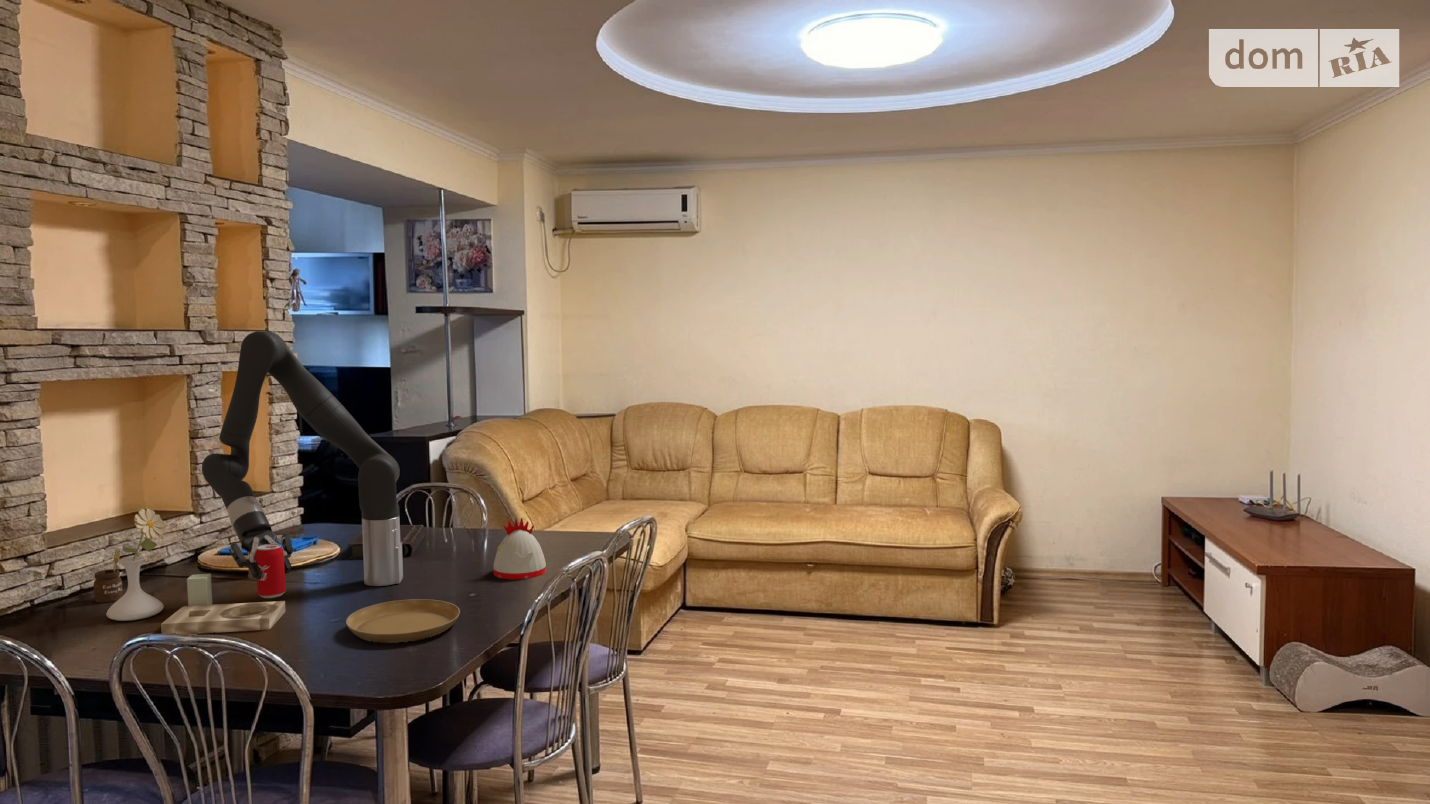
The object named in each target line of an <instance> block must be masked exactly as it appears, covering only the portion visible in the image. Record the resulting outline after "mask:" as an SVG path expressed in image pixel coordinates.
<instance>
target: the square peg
mask: <svg viewBox="0 0 1430 804" xmlns="http://www.w3.org/2000/svg"><path fill="white" fill-rule="evenodd" d="M186 588H187V603H188V604H187V606H197V605H213V592H212V590H213V589H212V575H211V573H201V574H200V573H199V574H198V573H196V574H192V575H190V576H189V577H188V578H186Z"/></svg>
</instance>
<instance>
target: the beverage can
mask: <svg viewBox="0 0 1430 804" xmlns="http://www.w3.org/2000/svg"><path fill="white" fill-rule="evenodd" d="M255 560H256V562H257V564H258V566H259V568H260V571H261V573H262V577H261V579H259V580H256V585H257V587H256V588H257V589H256V590H257V596H259V597H261V598H263V599H273V598H278V597H281V596H283V594H285V593H286V592H287V582H286V574H285V564H284V551H283V547H282V544H280V543H277V544H266V545H261V546H259V547H257V551H256V553H255Z"/></svg>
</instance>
